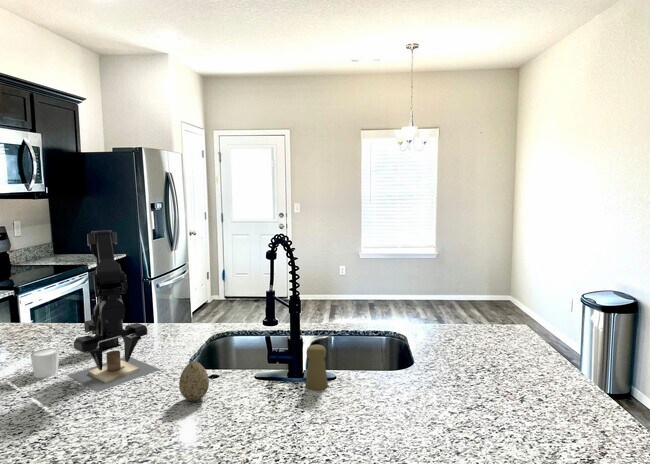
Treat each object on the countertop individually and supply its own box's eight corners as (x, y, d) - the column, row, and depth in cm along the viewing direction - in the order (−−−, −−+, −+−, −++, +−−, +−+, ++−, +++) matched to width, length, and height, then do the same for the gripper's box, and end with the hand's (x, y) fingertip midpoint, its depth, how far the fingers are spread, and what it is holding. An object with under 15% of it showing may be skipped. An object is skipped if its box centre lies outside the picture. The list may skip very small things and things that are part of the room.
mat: (128, 357, 138) (127, 355, 138) (160, 371, 127) (160, 369, 127) (67, 377, 124) (66, 375, 124) (97, 394, 113) (97, 392, 113)
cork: (325, 392, 113) (325, 350, 112) (302, 390, 114) (302, 349, 113) (329, 382, 119) (329, 342, 118) (308, 380, 120) (307, 341, 119)
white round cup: (65, 371, 128) (64, 348, 128) (49, 381, 121) (47, 356, 121) (44, 370, 129) (42, 347, 128) (26, 380, 122) (24, 356, 121)
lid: (122, 362, 133) (121, 344, 132) (140, 370, 127) (139, 351, 126) (88, 373, 125) (86, 354, 124) (105, 382, 119) (104, 362, 118)
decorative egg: (214, 400, 109) (213, 361, 108) (187, 409, 105) (185, 369, 104) (201, 390, 115) (200, 353, 114) (175, 399, 110) (173, 360, 109)
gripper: (127, 301, 136) (130, 350, 138) (63, 315, 121) (66, 369, 123) (147, 307, 130) (149, 358, 131) (81, 322, 115) (85, 379, 116)
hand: (113, 365), depth 125 cm, fingers open, 7 cm apart
